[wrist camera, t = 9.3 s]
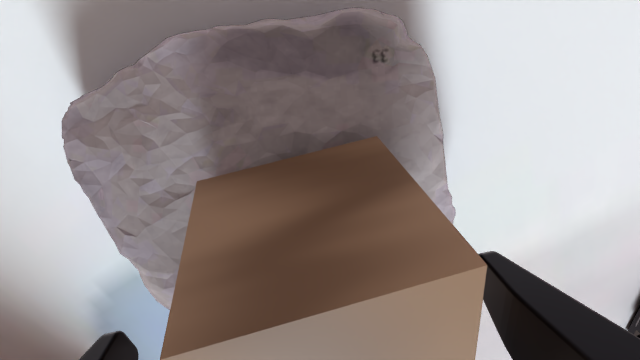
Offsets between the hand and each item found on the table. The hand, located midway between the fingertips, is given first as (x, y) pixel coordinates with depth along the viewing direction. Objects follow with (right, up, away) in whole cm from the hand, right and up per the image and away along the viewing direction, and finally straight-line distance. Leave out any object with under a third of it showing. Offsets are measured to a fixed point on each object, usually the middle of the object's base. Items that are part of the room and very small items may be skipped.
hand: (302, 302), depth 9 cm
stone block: (-1, +5, +5) cm, 7 cm away
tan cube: (0, +2, +2) cm, 3 cm away
